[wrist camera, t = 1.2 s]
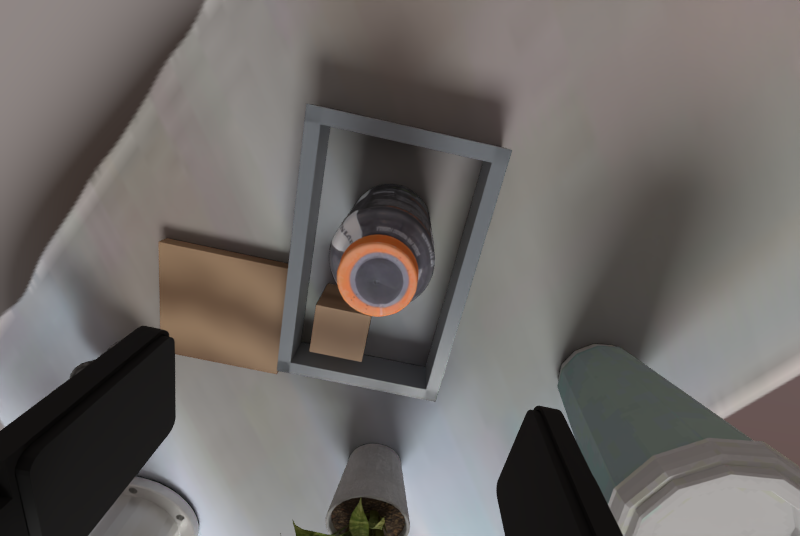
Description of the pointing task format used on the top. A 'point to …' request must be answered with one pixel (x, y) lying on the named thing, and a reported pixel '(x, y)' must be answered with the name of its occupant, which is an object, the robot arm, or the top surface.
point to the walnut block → (338, 327)
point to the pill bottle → (383, 251)
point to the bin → (307, 203)
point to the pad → (222, 304)
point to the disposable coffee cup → (672, 454)
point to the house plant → (368, 497)
